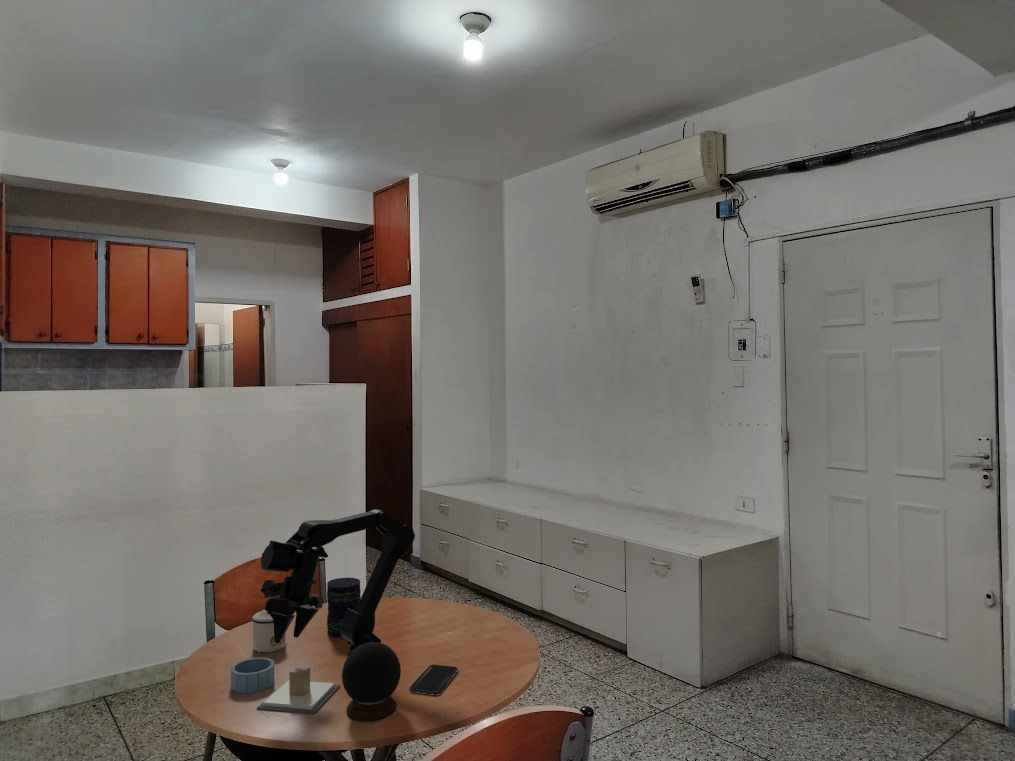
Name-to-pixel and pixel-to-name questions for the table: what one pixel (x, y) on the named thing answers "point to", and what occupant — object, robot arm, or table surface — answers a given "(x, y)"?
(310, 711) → the mat
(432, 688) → the phone
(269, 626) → the teacup with lid
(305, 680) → the lid
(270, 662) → the bowl
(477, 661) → the table surface
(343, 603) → the storage jar
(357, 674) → the black ball on stand
